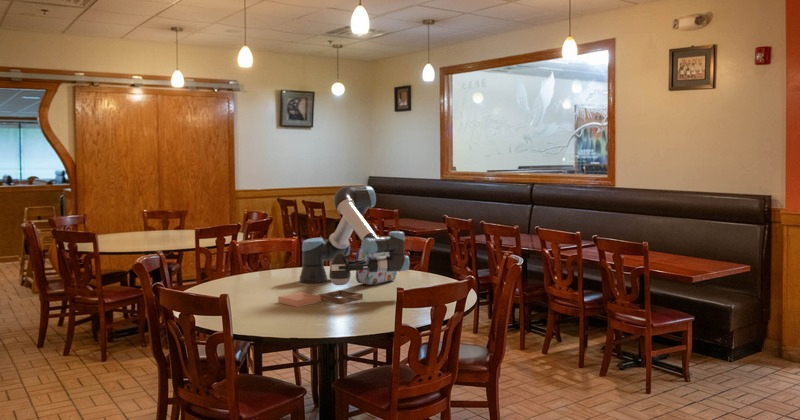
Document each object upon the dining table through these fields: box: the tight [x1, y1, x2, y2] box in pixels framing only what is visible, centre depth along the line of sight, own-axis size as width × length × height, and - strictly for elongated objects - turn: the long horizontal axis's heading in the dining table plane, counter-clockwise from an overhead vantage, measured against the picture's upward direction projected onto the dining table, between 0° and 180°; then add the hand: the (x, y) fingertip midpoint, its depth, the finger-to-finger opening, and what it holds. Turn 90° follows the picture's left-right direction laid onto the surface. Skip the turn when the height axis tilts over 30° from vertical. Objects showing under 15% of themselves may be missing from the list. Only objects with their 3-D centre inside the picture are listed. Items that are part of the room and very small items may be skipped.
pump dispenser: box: [328, 253, 352, 286], centre depth 323 cm, size 10×10×15 cm
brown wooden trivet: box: [317, 289, 364, 305], centre depth 325 cm, size 15×15×2 cm
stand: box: [277, 291, 322, 308], centre depth 319 cm, size 14×14×3 cm
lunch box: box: [355, 246, 398, 286], centre depth 366 cm, size 28×10×22 cm, turn 143°
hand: (330, 265), depth 322 cm, fingers closed on pump dispenser, 9 cm apart
